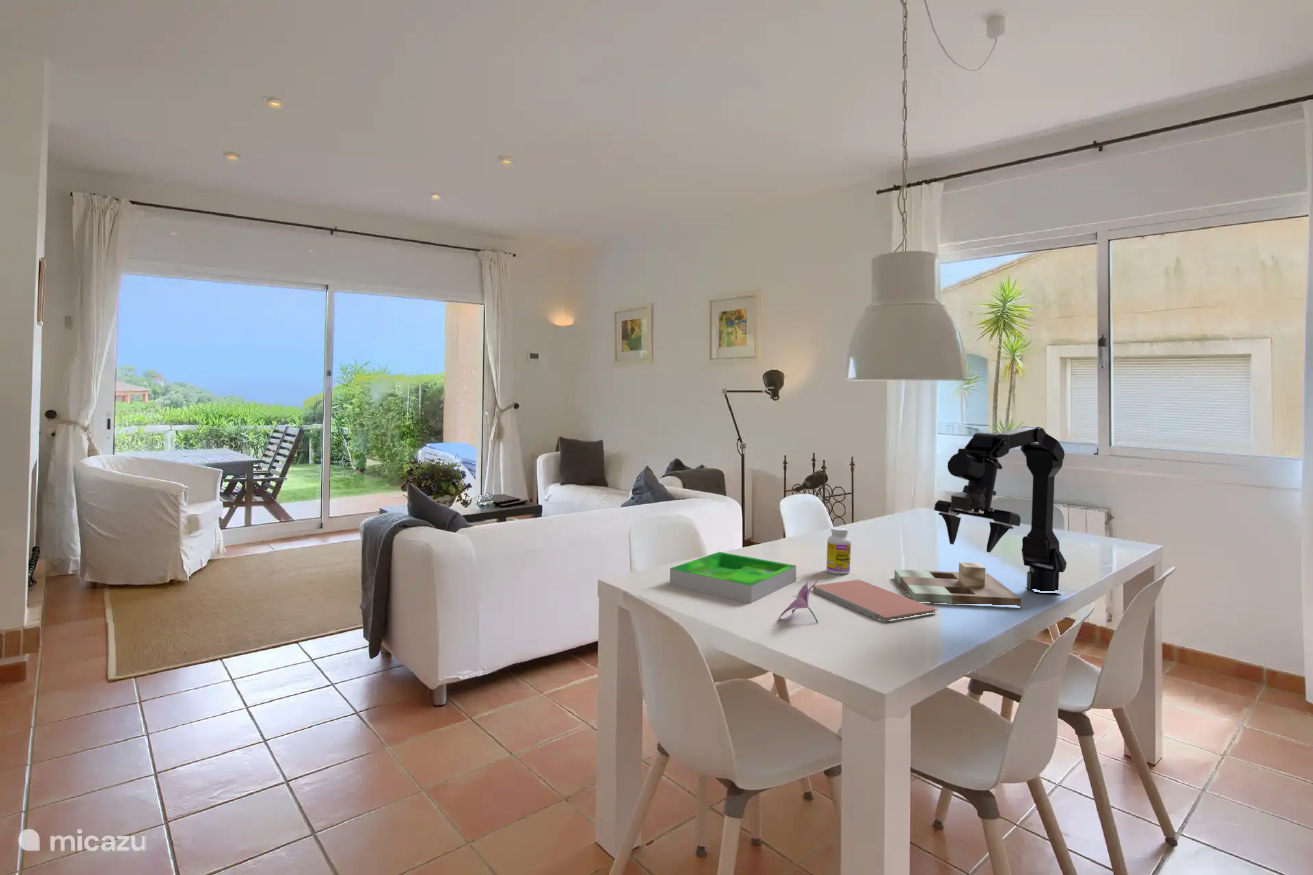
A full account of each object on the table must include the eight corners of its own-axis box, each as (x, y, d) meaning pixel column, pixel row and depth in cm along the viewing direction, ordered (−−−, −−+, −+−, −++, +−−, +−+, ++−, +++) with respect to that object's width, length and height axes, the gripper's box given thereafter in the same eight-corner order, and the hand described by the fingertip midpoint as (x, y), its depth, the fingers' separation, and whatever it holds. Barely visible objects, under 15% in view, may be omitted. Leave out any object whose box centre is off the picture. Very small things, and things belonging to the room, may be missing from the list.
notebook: (808, 592, 177) (808, 585, 177) (858, 585, 184) (859, 578, 183) (881, 625, 152) (882, 616, 152) (937, 616, 159) (937, 608, 159)
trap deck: (987, 582, 187) (988, 573, 186) (1020, 608, 164) (1021, 598, 164) (894, 578, 190) (894, 569, 190) (914, 602, 167) (914, 593, 167)
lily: (817, 614, 161) (798, 578, 162) (847, 609, 150) (826, 570, 152) (780, 638, 155) (761, 599, 157) (808, 634, 145) (787, 593, 146)
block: (978, 581, 178) (978, 562, 178) (984, 586, 173) (985, 567, 173) (958, 580, 179) (959, 562, 179) (964, 585, 174) (965, 566, 174)
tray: (751, 605, 166) (751, 585, 165) (669, 586, 181) (669, 568, 180) (795, 583, 186) (796, 565, 185) (718, 568, 201) (719, 551, 200)
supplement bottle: (833, 575, 192) (835, 531, 191) (822, 569, 198) (823, 526, 197) (854, 574, 194) (855, 530, 193) (842, 568, 200) (843, 525, 199)
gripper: (927, 473, 164) (915, 536, 163) (1003, 483, 149) (990, 552, 148) (952, 481, 171) (940, 541, 170) (1027, 491, 155) (1015, 558, 154)
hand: (969, 548), depth 160 cm, fingers open, 9 cm apart
